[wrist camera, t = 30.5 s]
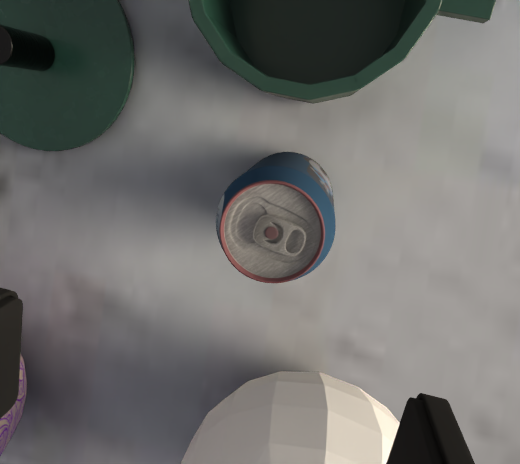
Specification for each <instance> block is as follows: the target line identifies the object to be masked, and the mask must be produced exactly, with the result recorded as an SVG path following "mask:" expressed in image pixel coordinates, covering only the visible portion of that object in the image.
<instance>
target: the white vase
mask: <svg viewBox="0 0 520 464" xmlns="http://www.w3.org/2000/svg"><path fill="white" fill-rule="evenodd" d="M399 424H400V423H399V422H398V421H397V419H396V418H395V417H394V416H393V414H392V413H391V412H390V411H389V409H388V408H386V407H385V406H384V405H382V404H381V403H379V402H378V401H377V400H375V399H374V398H372V397H371V396H370V395H368V394H367V393H366V392H364V391H363V390H361V389H360V388H359V387H357V386H355V385H352V384H349V383H347V382H344V381H341V380H339V379H336V378H334V377H331V376H328V375H326V374H323V373H321V372H292V371H279V372H276V373H273V374H269V375H266V376H263V377H260V378H257V379H253V380H250V381H247V382H246V383H244V384H243V385H242V386H241V387H239V388H238V389H237V390H235V391H234V392H233V393H232V394H230V395H229V396H228V397H226V398H225V399H224V400H223V401H221V402H220V403H219V404H218V405H217V406H215V407H214V408H213V409H212V410H211V411H209V412H208V413H207V415H206V417H205V418H204V420H203V422H202V423H201V425H200V427H199V428H198V430H197V432H196V433H195V435H194V437H193V438H192V440H191V442H190V445H189V447H188V449H187V451H186V453H185V455H184V457H183V459H182V461H181V464H386V463H387V460H388V457H389V454H390V451H391V448H392V445H393V442H394V439H395V436H396V433H397V430H398V427H399Z"/></svg>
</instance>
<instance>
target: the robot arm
mask: <svg viewBox="0 0 520 464" xmlns="http://www.w3.org/2000/svg"><path fill="white" fill-rule="evenodd" d="M22 311H23V303H22V301H21V300H20V299H18V296H17V293H15V292H14V291H11V290H7V289H3V288H0V419H1V418H2V417H3V416H4V415H5V414H6V413H7V412H8V411H9V410H10V409H11V408H12V407H13V405H14V404H15V402H16V400H17V397H18V393H19V375H20V353H21V332H22ZM386 464H475V463H474V461H473V458H472V456H471V454H470V451H469V449H468V447H467V444H466V442H465V440H464V437H463V435H462V433H461V430H460V428H459V426H458V423H457V421H456V419H455V416H454V414H453V412H452V409H451V407H450V404H449V402H448V401H447V400H446V399H442V398H438V397H434V396H430V395H426V394H422V393H420V394H419V395H418V396H417V398H416V399H415V398H409V399H408V401H407V404H406V407H405V410H404V413H403V415H402V418H401V421H400V424H399V427H398V430H397V433H396V436H395V439H394V442H393V445H392V448H391V451H390V454H389V457H388V460H387V463H386Z"/></svg>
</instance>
